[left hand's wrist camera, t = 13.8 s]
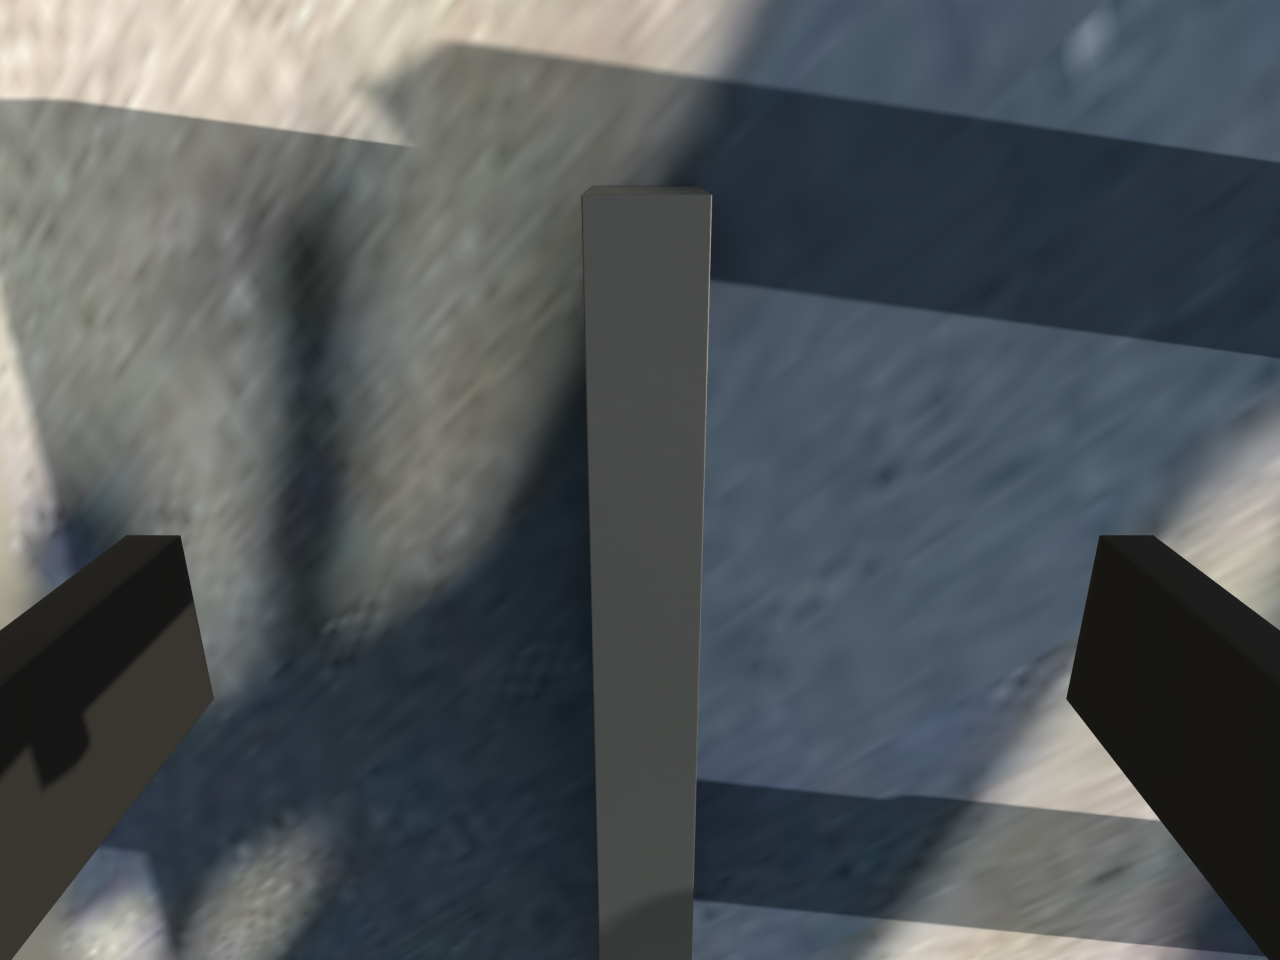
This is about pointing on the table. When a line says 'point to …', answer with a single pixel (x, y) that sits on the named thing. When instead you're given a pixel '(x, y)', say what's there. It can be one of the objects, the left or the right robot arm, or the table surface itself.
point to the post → (646, 550)
